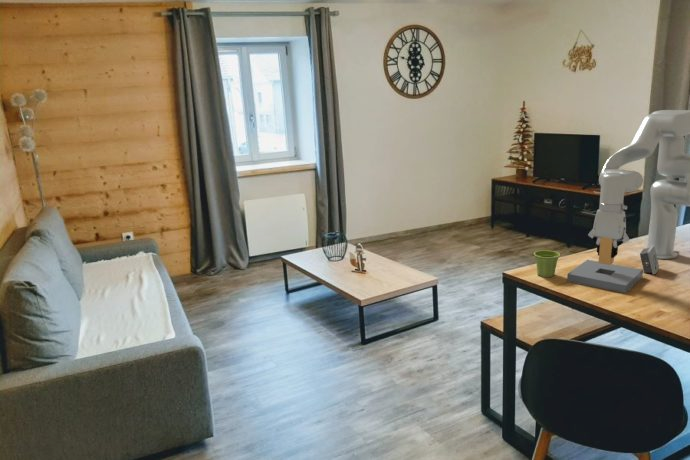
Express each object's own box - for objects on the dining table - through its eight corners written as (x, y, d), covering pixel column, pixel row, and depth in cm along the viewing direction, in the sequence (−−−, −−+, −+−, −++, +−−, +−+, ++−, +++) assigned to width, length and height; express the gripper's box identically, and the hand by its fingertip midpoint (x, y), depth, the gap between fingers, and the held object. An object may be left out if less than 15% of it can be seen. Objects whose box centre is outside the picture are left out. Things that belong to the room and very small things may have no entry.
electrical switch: (655, 275, 194) (655, 251, 193) (639, 274, 198) (639, 250, 196) (659, 268, 201) (659, 245, 200) (644, 267, 205) (644, 244, 203)
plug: (602, 260, 194) (604, 234, 192) (613, 262, 191) (615, 236, 189) (598, 263, 191) (600, 237, 189) (609, 265, 189) (612, 238, 186)
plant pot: (532, 278, 198) (533, 256, 196) (533, 270, 207) (534, 249, 204) (558, 280, 195) (560, 258, 192) (558, 271, 203) (559, 250, 201)
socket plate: (586, 266, 207) (587, 259, 206) (642, 277, 193) (643, 269, 193) (567, 281, 193) (567, 273, 192) (625, 293, 180) (626, 285, 179)
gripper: (639, 208, 183) (634, 257, 188) (590, 203, 194) (586, 249, 199) (633, 212, 178) (628, 262, 183) (583, 206, 189) (579, 254, 194)
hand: (606, 255), depth 191 cm, fingers closed on plug, 4 cm apart
